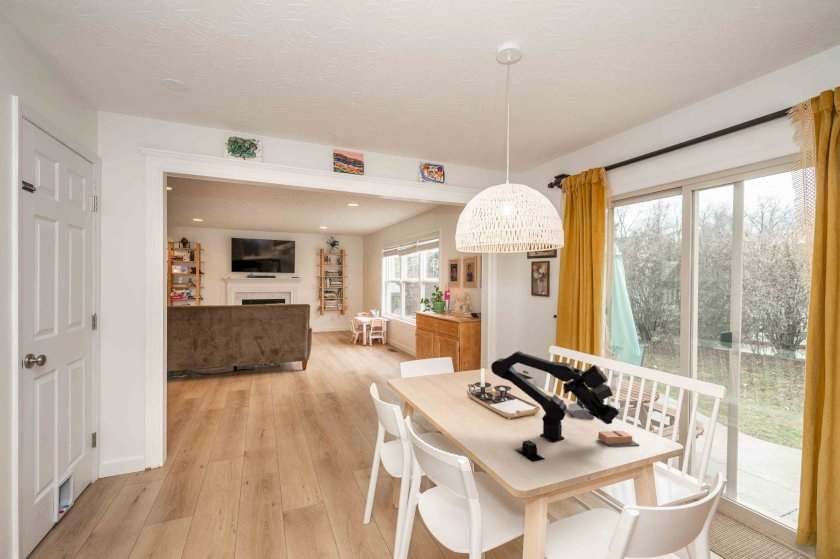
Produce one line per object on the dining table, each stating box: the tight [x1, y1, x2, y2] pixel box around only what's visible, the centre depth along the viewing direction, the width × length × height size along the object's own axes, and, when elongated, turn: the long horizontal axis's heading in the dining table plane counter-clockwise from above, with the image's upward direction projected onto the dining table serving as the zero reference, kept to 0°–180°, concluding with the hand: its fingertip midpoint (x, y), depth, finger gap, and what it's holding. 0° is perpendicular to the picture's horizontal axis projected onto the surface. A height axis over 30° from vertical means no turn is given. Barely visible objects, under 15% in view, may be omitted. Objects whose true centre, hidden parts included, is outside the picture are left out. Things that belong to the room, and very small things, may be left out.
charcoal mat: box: [597, 435, 640, 448], centre depth 139 cm, size 11×8×1 cm
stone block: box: [568, 402, 595, 420], centre depth 167 cm, size 12×5×10 cm
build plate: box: [514, 439, 545, 463], centre depth 127 cm, size 12×7×5 cm, turn 22°
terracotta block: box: [598, 430, 633, 445], centre depth 139 cm, size 3×5×10 cm
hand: (611, 422), depth 138 cm, fingers closed
